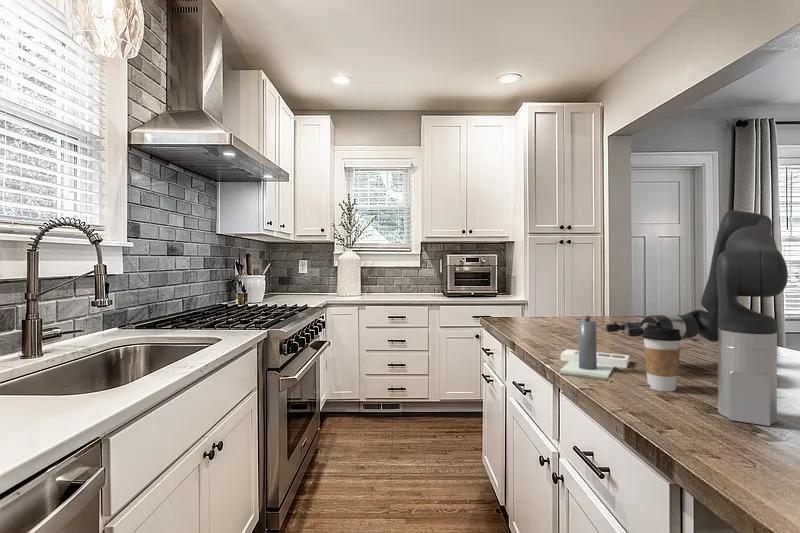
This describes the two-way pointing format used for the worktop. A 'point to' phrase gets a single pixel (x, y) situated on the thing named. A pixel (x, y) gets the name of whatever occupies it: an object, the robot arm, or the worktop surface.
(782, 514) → the worktop surface
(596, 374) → the pad
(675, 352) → the coffee cup
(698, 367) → the worktop surface
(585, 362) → the grey bottle
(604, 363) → the power strip
